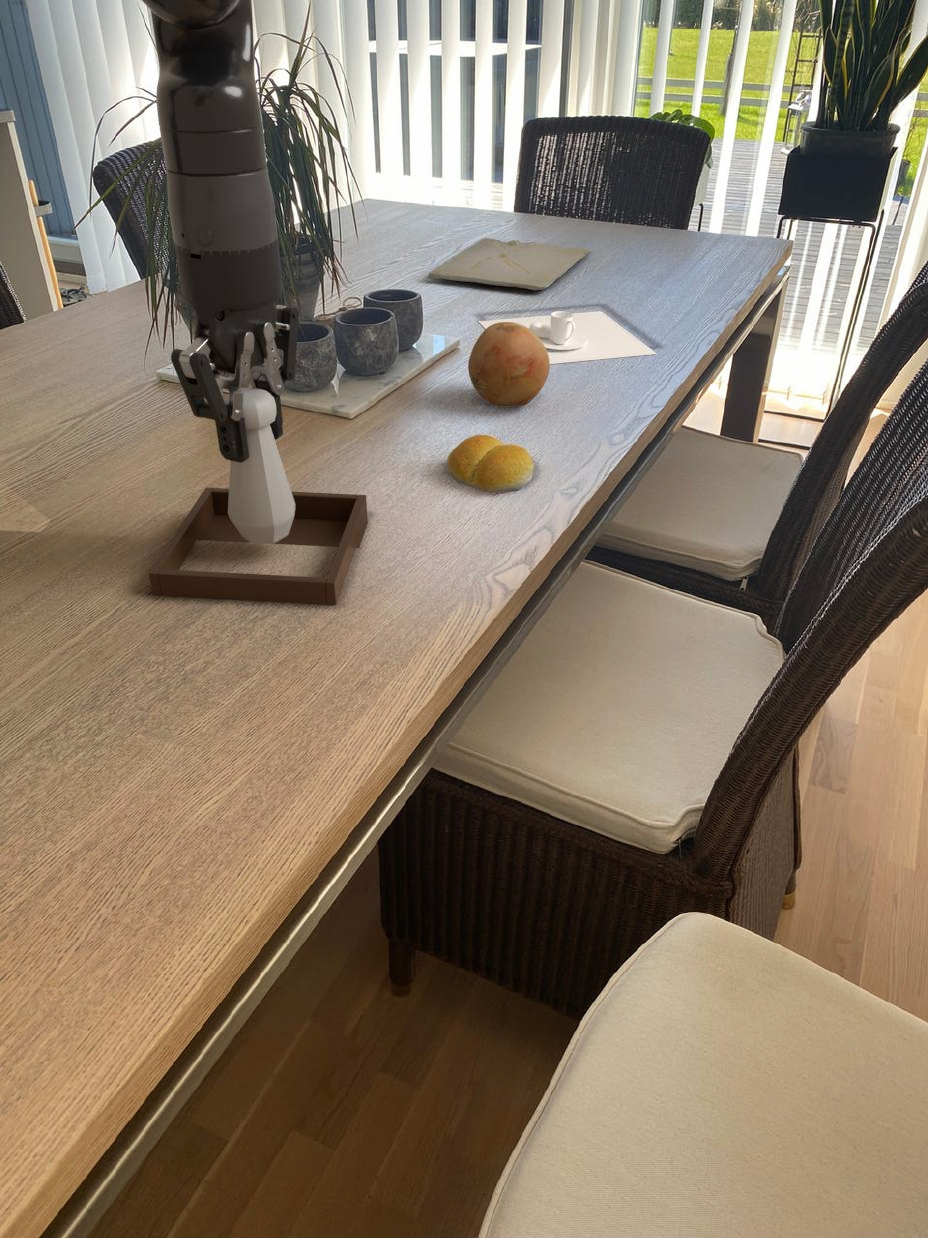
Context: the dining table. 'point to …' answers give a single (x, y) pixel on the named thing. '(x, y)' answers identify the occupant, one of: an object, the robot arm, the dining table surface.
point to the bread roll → (490, 464)
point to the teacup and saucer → (580, 336)
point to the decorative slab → (510, 264)
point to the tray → (313, 525)
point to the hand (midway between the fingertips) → (253, 446)
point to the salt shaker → (260, 477)
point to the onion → (508, 364)
